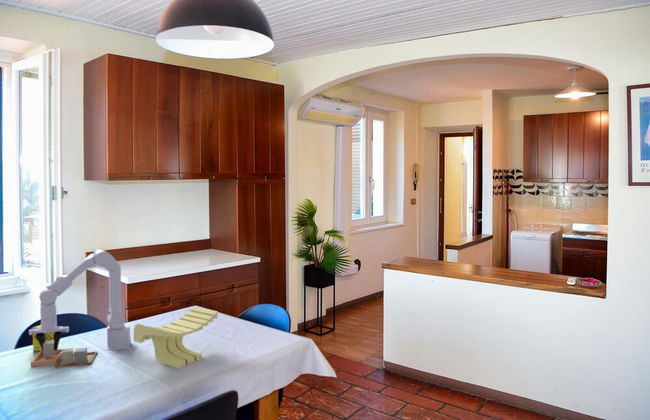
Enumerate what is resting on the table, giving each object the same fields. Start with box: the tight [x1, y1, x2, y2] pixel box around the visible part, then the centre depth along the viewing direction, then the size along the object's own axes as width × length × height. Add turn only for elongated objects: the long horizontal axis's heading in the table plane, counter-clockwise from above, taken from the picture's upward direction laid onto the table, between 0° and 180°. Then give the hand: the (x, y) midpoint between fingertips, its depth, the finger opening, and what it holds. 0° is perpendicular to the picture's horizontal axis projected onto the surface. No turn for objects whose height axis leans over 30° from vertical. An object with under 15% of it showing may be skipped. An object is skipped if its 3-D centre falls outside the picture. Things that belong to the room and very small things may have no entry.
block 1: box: [43, 340, 57, 356], centre depth 204 cm, size 4×4×5 cm
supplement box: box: [31, 324, 55, 353], centre depth 214 cm, size 6×6×11 cm
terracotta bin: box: [30, 348, 63, 368], centre depth 202 cm, size 9×13×2 cm
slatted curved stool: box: [133, 306, 219, 369], centre depth 204 cm, size 30×16×18 cm, turn 146°
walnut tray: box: [54, 351, 98, 369], centre depth 202 cm, size 13×13×1 cm
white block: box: [61, 347, 74, 365], centre depth 199 cm, size 4×4×5 cm
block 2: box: [73, 347, 88, 364], centre depth 200 cm, size 4×4×5 cm
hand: (50, 350), depth 204 cm, fingers closed on block 1, 4 cm apart
